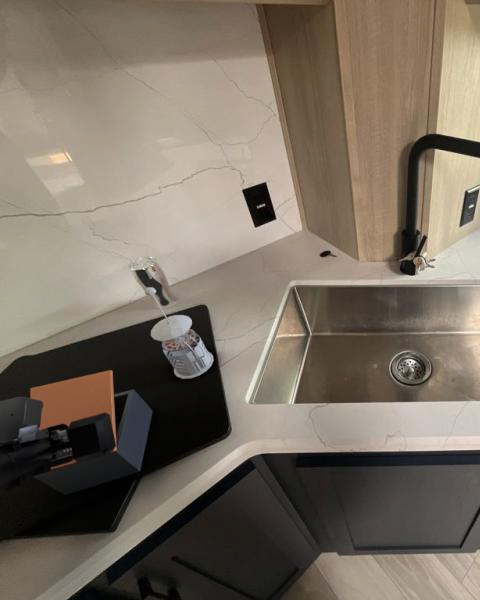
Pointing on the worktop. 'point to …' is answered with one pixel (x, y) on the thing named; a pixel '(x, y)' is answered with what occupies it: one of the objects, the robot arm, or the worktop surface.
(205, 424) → the worktop surface
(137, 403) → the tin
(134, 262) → the beer glass
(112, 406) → the orange square plate
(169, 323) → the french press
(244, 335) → the worktop surface
